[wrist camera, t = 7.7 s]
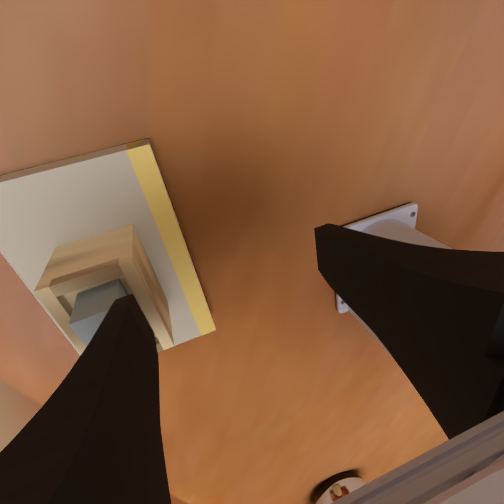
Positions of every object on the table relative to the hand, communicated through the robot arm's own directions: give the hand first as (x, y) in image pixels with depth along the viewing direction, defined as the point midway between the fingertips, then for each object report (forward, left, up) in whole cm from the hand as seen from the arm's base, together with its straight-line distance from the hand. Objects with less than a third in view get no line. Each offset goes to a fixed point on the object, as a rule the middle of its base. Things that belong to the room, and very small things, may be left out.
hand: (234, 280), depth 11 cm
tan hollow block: (-3, +6, -8) cm, 10 cm away
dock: (-3, +6, -10) cm, 12 cm away
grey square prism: (-2, +6, -4) cm, 8 cm away
